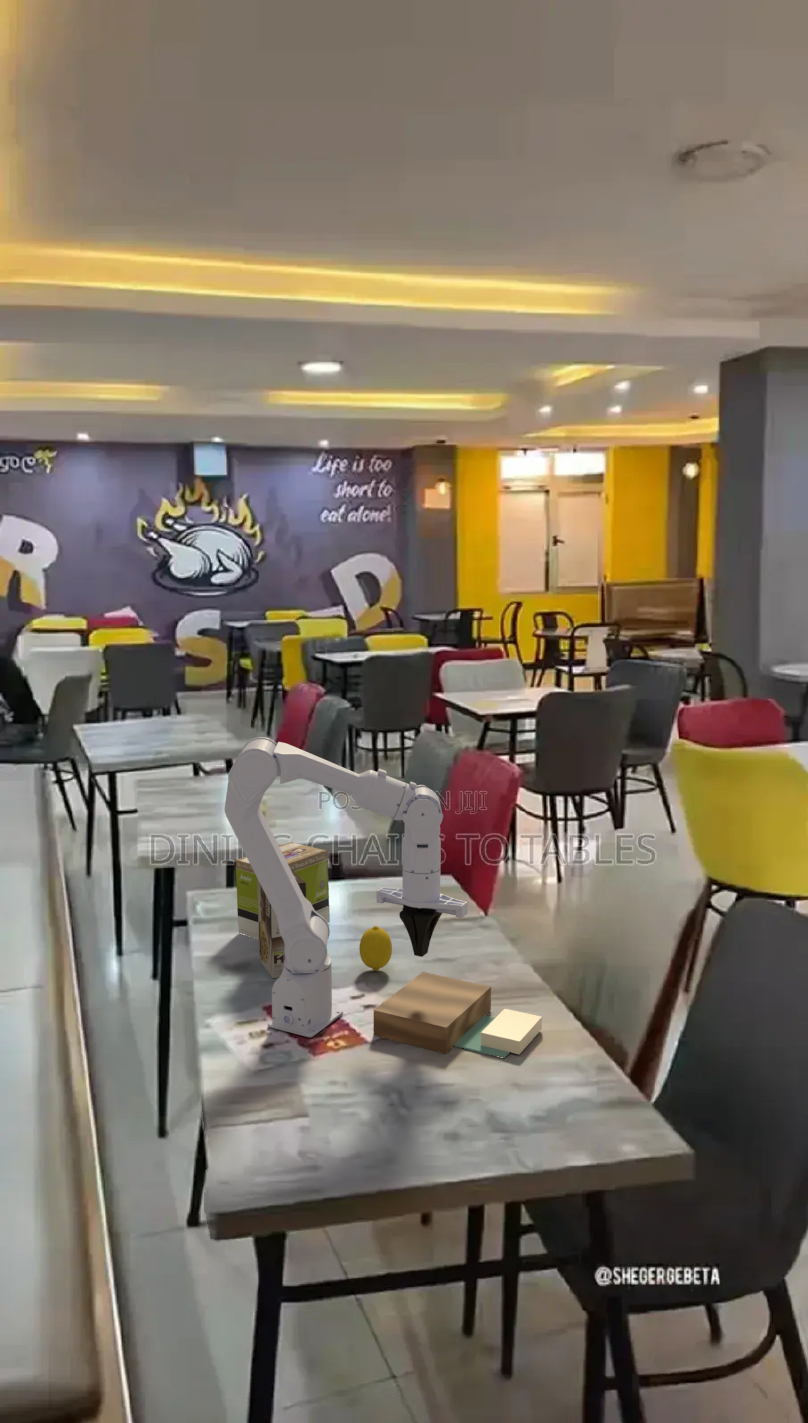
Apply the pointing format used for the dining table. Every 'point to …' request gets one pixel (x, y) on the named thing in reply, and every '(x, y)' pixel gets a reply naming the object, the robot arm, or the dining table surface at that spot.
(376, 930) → the lemon
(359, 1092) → the dining table surface
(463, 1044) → the mat
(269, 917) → the coffee box
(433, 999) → the brown wooden flat block
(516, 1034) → the cream rectangular block
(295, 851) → the tea box
